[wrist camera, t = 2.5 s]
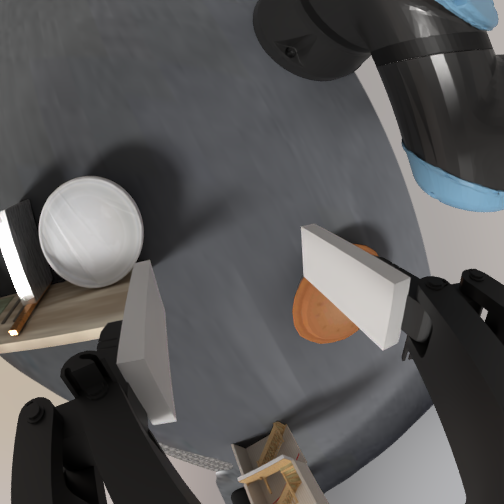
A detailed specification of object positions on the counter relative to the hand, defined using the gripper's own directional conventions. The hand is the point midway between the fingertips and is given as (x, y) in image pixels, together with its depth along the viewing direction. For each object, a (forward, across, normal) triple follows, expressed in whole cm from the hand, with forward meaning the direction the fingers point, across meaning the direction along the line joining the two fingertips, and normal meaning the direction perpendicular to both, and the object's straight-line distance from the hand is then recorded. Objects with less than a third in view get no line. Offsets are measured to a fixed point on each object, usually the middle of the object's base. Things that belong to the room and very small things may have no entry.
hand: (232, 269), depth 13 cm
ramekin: (+19, -11, 0) cm, 22 cm away
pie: (+19, +17, -16) cm, 30 cm away
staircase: (+20, +2, -48) cm, 52 cm away
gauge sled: (+19, -20, 0) cm, 28 cm away
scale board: (+19, -20, -6) cm, 28 cm away
